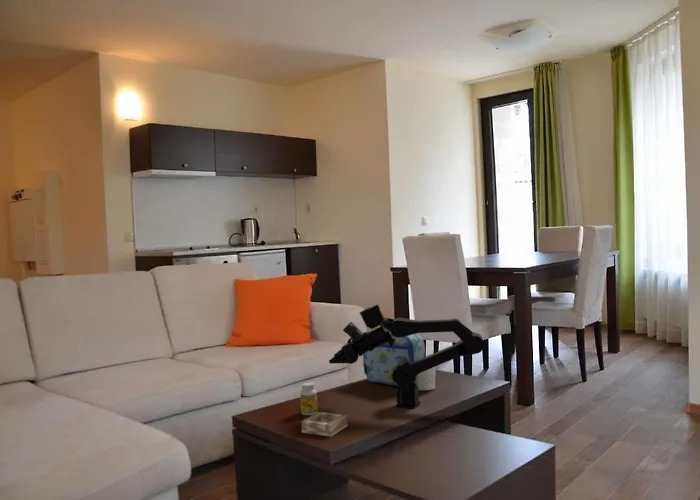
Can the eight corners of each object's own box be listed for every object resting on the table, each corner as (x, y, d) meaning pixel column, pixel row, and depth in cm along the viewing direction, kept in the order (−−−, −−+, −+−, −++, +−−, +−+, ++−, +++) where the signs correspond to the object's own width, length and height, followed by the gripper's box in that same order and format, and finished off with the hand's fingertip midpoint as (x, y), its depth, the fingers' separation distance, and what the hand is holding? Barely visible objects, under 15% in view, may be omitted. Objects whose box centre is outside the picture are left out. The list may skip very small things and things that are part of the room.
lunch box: (359, 381, 237) (357, 327, 236) (378, 375, 245) (376, 323, 244) (410, 392, 218) (408, 334, 218) (429, 386, 226) (427, 329, 225)
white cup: (439, 386, 223) (438, 359, 223) (430, 392, 217) (429, 364, 216) (420, 384, 228) (419, 358, 227) (411, 389, 221) (409, 362, 221)
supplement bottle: (320, 411, 200) (318, 382, 200) (314, 416, 195) (312, 386, 195) (304, 410, 202) (303, 381, 202) (298, 415, 197) (297, 385, 197)
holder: (347, 426, 184) (347, 415, 184) (330, 436, 175) (330, 425, 175) (319, 422, 189) (318, 411, 189) (301, 432, 180) (301, 421, 180)
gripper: (365, 314, 213) (326, 332, 215) (358, 322, 195) (315, 342, 197) (380, 342, 213) (340, 361, 215) (373, 353, 194) (330, 373, 197)
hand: (332, 359), depth 206 cm, fingers open, 9 cm apart
